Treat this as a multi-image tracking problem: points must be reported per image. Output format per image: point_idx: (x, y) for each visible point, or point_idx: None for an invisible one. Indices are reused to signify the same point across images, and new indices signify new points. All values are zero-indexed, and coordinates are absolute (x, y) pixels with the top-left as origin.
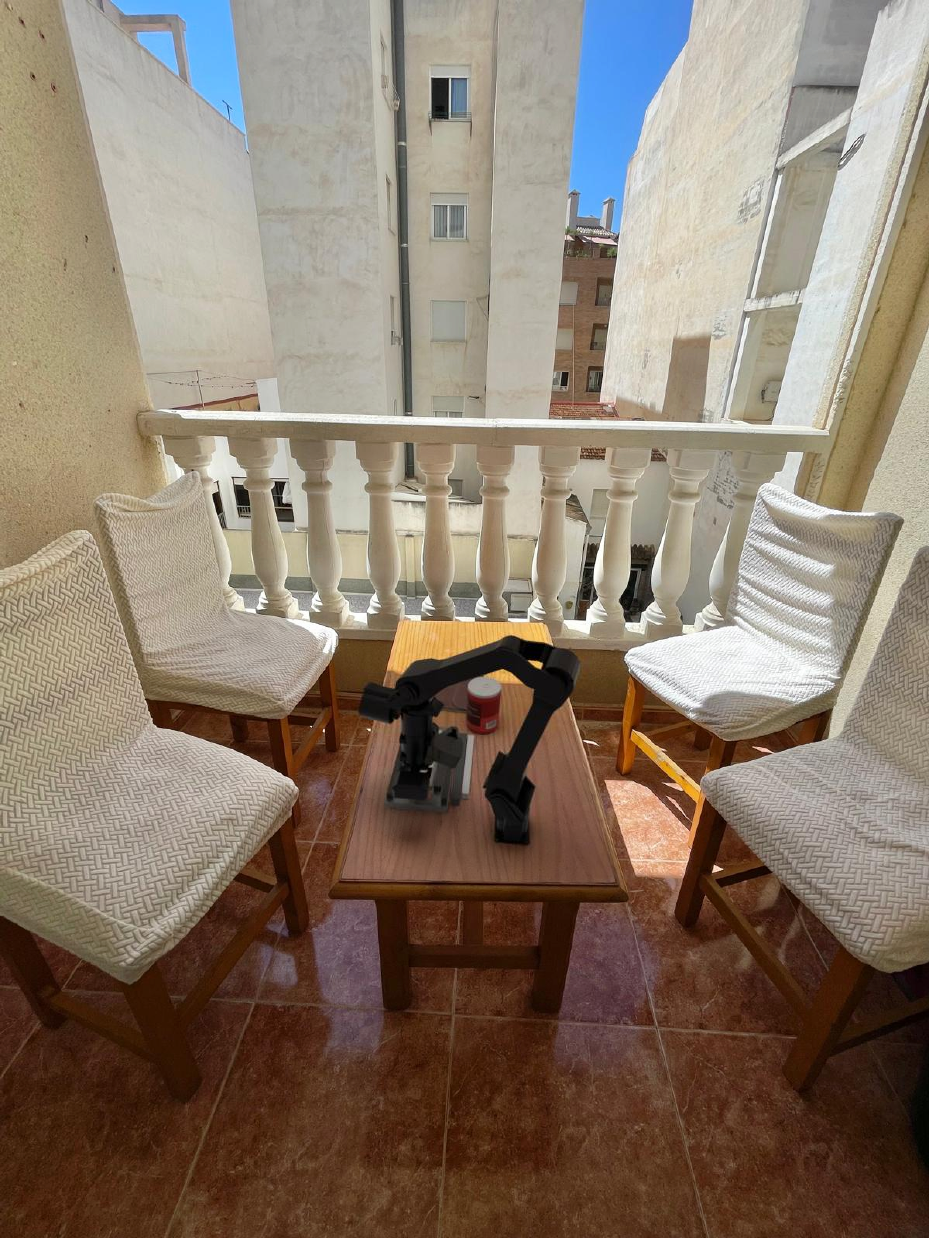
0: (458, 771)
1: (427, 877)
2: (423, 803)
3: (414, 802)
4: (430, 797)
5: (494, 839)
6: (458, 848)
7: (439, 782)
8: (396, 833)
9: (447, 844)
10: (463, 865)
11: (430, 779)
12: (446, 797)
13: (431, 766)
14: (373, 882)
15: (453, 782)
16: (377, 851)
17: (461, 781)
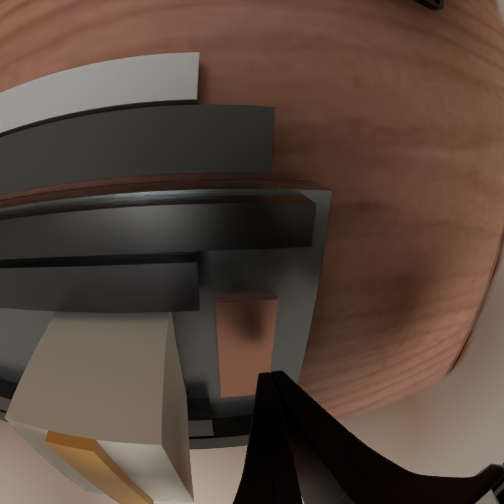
0: (17, 162)
1: (499, 230)
2: (301, 316)
3: (295, 351)
4: (258, 294)
5: (440, 8)
6: (462, 139)
7: (158, 279)
8: (385, 343)
9: (450, 177)
10: (494, 133)
11: (168, 348)
12: (308, 209)
13: (153, 448)
14: (470, 333)
15: (110, 172)
16: (419, 358)
17: (93, 116)
